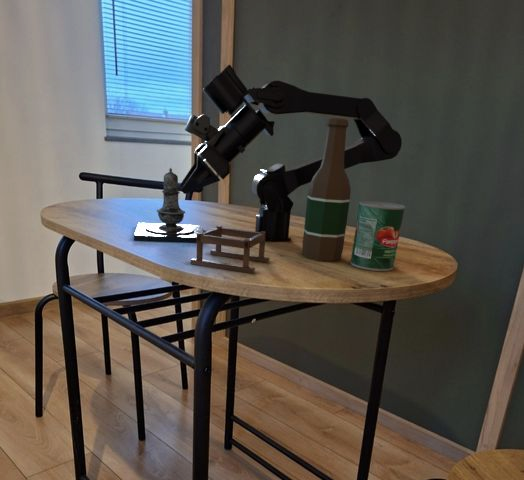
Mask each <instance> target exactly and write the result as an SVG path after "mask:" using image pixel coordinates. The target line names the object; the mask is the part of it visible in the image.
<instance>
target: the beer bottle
mask: <svg viewBox="0 0 524 480" xmlns="http://www.w3.org/2000/svg"><path fill="white" fill-rule="evenodd" d="M349 125H350V124H349V120H348V118H343V117H329V118H328V120H327V122H326V126H327V132H326V136H325V143H324V148H323V154H322V156H323V159H322V163H321V166H320V168H319V170H318V171H317V172H316V174H315V175H314V176H313V179H312V181H311V182H310V183H309V186H308V192H307V197H306V208H305V217H304V228H303V237H302V248H301V249H302V250H301V251H302V252H301V253H302V255H303V256H304V257H305V258H306V259H309V260H313V261H318V262H335V261H339V260H341V259H342V257H343V250H344V246H345V245H344V244H345V237H346V230H347V224H348V217H349V207H350V201H351V183H350V179H349V177H348V175H347V173H346V171H345V170H346V169H344V154H345V148H346V140H347V129H348V127H349Z"/></svg>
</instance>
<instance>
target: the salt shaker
mask: <svg viewBox="0 0 524 480" xmlns="http://www.w3.org/2000/svg"><path fill="white" fill-rule="evenodd" d="M161 192H162V195H163V196H162V197H163V203H162V207H161V208H159V209H156V213H157V216H158V217H159V220H160V222H162V224H164V225H161V226H159V227H158V228H159V229H161V230H166V231H181V230H184V228H183V227H182V226H180V225H181V224H180V223H181V222H182V221H183V220H184V217H185V214H186V211H185V210H184V209H182V208H181V207H180V204H179V195H180V191H179V177H178V175H177V174H176V173H174V172H173V169H172V167H170V168H169V171H168V172H166V173H165V174H164V175H163V189H162V191H161ZM176 224H177V225H176Z"/></svg>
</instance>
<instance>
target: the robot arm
mask: <svg viewBox="0 0 524 480" xmlns="http://www.w3.org/2000/svg"><path fill="white" fill-rule="evenodd" d="M202 92H203V93H204V94H205V95H206V97H207V98H208V99H209V100H210V102H211V103H212V104H213V105H214V107H216V109H217V110H218V112H219V113H220V114H221V115H224V114H225V113H226V114H228V115H229V116H231V115H232V114H234V113H235V112H236V111H237V110H238V109H239V108H240V107H241V105H243V107H242V108H241V109H240V110H239V111H238V112H237V113H236V114H235V115H234V116H233V117H231V118H230V120H229V121H228V122H227V123H226V124H225V125H221V126H219V128H217V127H215V126H214V125H211V117H210V116H208V115H206V114H205V113H202V114H200V115H199V116H196V115H195V114H190V117H189V119H188V121H187V124H186V126H185V128H184V131H185V132H188V133H189V134H191V135H193V136H195V137H198V138H200V139H202V140H203V141H204V142H203V143H201V144H199V145H198V146H197V147H196V148H195V149H194V150H195V151H193V163H192V165H191V167H190V169H189V170H188V172H187V173H186V174H185V176H184V178H182V179H183V180H181V182H180V184H179V186H180V187H181V192H182V194H184V195H187V194H189V193H191V192H194V191H197V190H199V189H202V188H204V187H207V186H210V185H212V184H215V183H217V182H220V181H221V179H222V180H224V179H226V177H228V176H229V174H231V163H232V162H233V161H234V160H235V159H236V158H237V157H238V156H239V155H240V154H244V152H245V151H246V148H247V147H248V146H249V145H250V144H251V143H252V142H253V141H254V140H255V139H256V138H257V137H258V136H259V135H260V134H261V133H262V132H264V133H265V134H266V136H269V137H273V136H274V126H275V123H276V122H275V121H274V120H271V121H270V120H268V118H267V117H266V116H265V115H267V116H279V115H288V114H300V113H302V114H311V115H321V116H330V117H335V118H344V119H352V120H353V121H354V123H355V126H356V129H357V131H358V134H359V136H360V138H358V139H357V140H356V141H355V142H354V143H353V144H351V145H348V146H345V154H344V170H346V169H349V168H352V167H354V166H357V165H360V164H366V163H376V162H382V161H388V160H392V159H394V158H396V157H397V156H398V155H399V153H400V151H401V150H402V149H401V148H402V145H403V141H402V137H401V135H400V133H399V132H398V131H397V130H395V129H393V127H392V126H391V124H390V123H389V121H388V120H387V119H386V117H385V116H383V114H382V113H381V112H380V111H379V110H378V108H377V107H376V105H375V103H374V102H373V100H372V99H371V98H369V97H361V98H360V97H352V96H346V95H337V94H331V93H322V92H314V91H313V92H312V91H308V90H305V89H303V88H300V87H298V86H296V85H294V84H291V83H288V82H284V81H282V80H272V81H270V82H268V83H265V84H264V85H263V86H262V87H258V88H257V87H256V88H255V87H254V86H253V87H250V88H247V86H246V85H245V84H244V83H243V81H242V80H241V79H240V77H239V76H238V75H237V73H236V70H235V69H234V68H233V66H232V65H231V64H228V65H226V67H225V68H224V69H223V70H222V71H220V73H219V74H217V75H215V76H214V77H213V79H211V80H210V82H209V83H207V84H206V85H205V86H204V87H203V89H202ZM252 105H254V106H257V107H258V108H259V109H257V110H255V109H254V108H253V107H252ZM322 159H323V155H322V156H320V157H317V158H314V159H312V160H309V161H306V162H303V163H302V164H298V165H295V166H293V167H289V168H286V164H282V163H280V162H279V163H275V164H274V165H272V166H270V167H268V168H261V169H260V172H259V173H258V174H256V175H255V176H254V177H253V179H252V182H251V191H252V193H253V195H254V196H255V198H257V199H258V200H259V204H260V206H261V207H259V208H258V214H256V216H255V230H254V232H261V231H263V232H266V237H265V242H267V241H268V242H269V241H272V242H273V241H279V242H280V241H283V242H286V241H287V242H289V241H292V238H291V237H289V235H290V234H289V233H290V223H291V213H292V208H293V207H294V201H292V199H291V198H290V197H289V196H290V195H291V194H292V193H293V192H294V191H296V190H297V189H299V188H300V187H301V186H305V185H307V184H310V183H311V181H312V179H313V176H314V175H315V174H316V172H317V171H318V170H319V168H320V166H321V163H322Z"/></svg>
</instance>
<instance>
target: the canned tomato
mask: <svg viewBox="0 0 524 480" xmlns="http://www.w3.org/2000/svg"><path fill="white" fill-rule="evenodd" d="M358 205H359V206H358V211H357V218H356V225H355V231H354V239H353V245H352V251H351V258H350V259H351V260H350V262H349V263H350V265H351V266H353V267H355V268H357V269H360V270H366V271H373V272H389V271H392V270H394V266H395V261H396V257H397V251H398V246H399V241H400V234H401V230H402V229H401V228H402V225H403V224H402V223H403V219H404V212H405V209H406V206H405V205H403V204H400V203H399V204H398V203H394V202H386V201H376V200H375V201H373V200H362V201H359V204H358Z"/></svg>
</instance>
